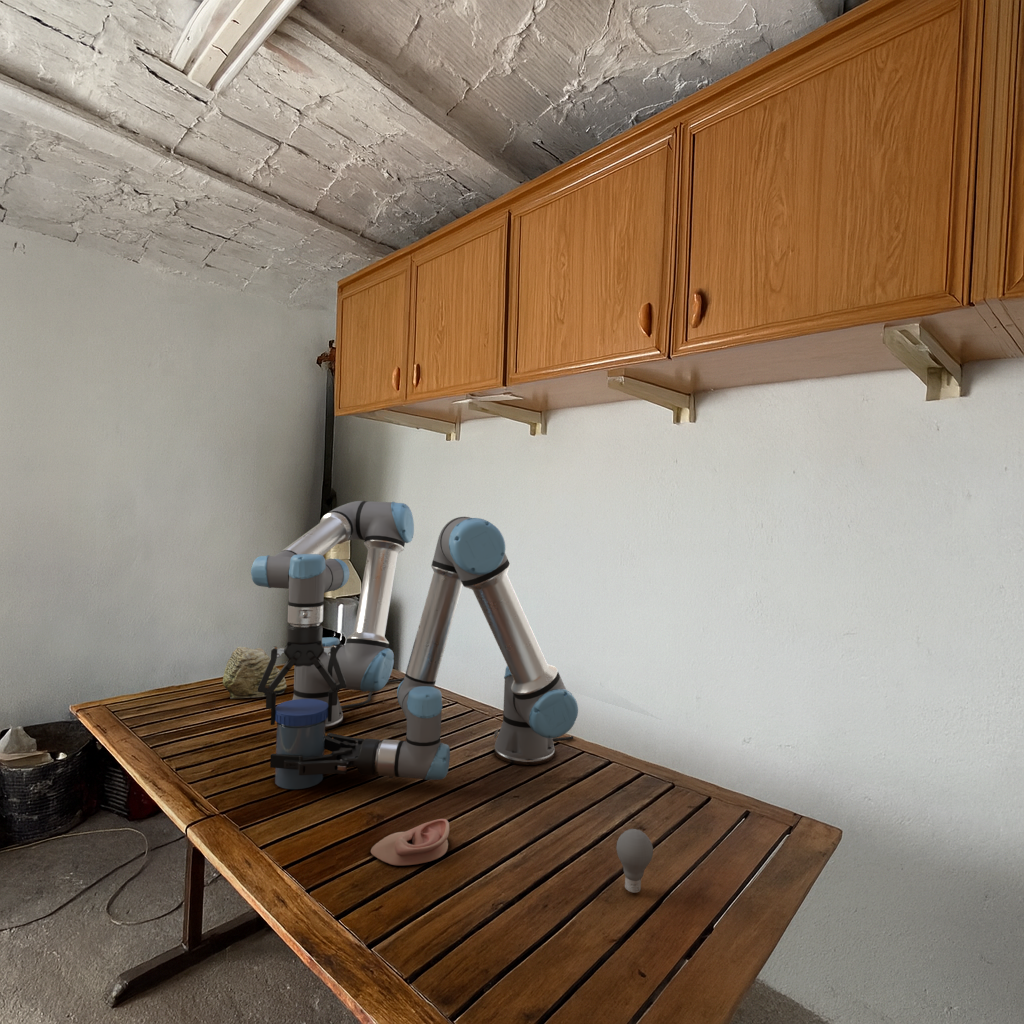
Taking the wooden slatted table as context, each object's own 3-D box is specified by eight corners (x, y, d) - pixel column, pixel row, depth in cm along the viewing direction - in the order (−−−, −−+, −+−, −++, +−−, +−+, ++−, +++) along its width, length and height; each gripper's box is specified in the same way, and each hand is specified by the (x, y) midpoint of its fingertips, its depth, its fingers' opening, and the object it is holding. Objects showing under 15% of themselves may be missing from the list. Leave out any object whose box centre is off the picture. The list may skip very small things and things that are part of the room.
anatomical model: (363, 838, 111) (389, 807, 122) (362, 860, 111) (388, 827, 122) (436, 849, 108) (455, 817, 119) (435, 872, 108) (454, 838, 119)
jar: (300, 765, 149) (302, 700, 148) (333, 775, 144) (335, 708, 144) (264, 781, 140) (267, 712, 139) (298, 793, 135) (301, 722, 134)
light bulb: (610, 879, 108) (613, 822, 108) (644, 879, 109) (647, 822, 109) (619, 902, 102) (622, 840, 102) (655, 901, 103) (658, 840, 103)
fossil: (218, 695, 195) (220, 647, 195) (278, 685, 208) (279, 640, 207) (228, 703, 189) (230, 653, 188) (289, 692, 201) (290, 645, 201)
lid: (316, 705, 150) (316, 695, 149) (336, 719, 141) (337, 709, 141) (267, 714, 142) (267, 704, 142) (285, 729, 133) (285, 719, 133)
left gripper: (246, 628, 134) (242, 730, 134) (360, 626, 141) (357, 723, 141) (249, 621, 141) (246, 718, 142) (358, 619, 148) (355, 712, 149)
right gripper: (363, 798, 129) (257, 790, 131) (391, 753, 152) (301, 747, 153) (364, 761, 129) (259, 754, 130) (393, 722, 152) (303, 716, 153)
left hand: (301, 721), depth 141 cm, fingers closed on lid, 11 cm apart
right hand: (282, 750), depth 142 cm, fingers closed on jar, 10 cm apart
